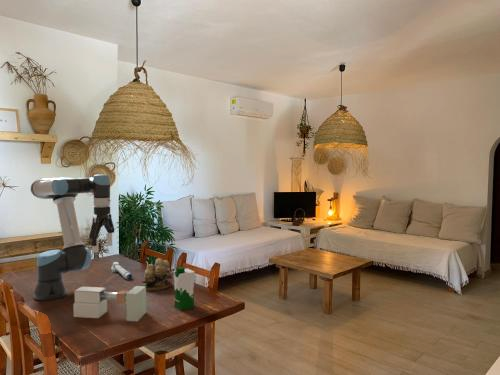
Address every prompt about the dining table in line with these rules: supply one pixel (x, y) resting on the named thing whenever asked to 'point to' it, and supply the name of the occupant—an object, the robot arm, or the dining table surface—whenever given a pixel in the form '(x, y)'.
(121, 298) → the tube
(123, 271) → the white knobbed cylinder
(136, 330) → the dining table surface
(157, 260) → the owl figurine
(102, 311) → the sleeve
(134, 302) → the socket block
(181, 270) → the milk carton
